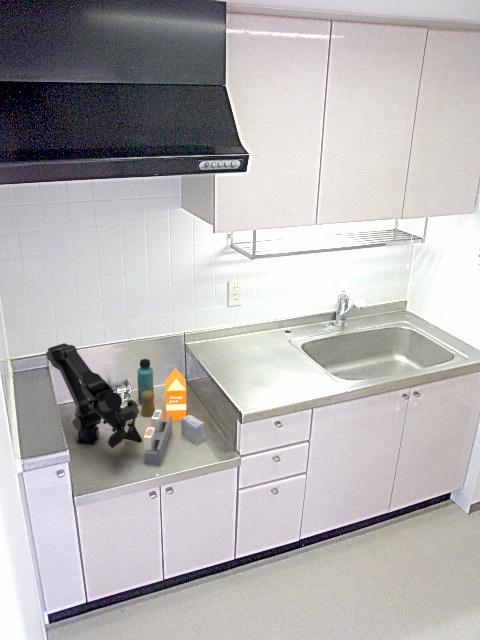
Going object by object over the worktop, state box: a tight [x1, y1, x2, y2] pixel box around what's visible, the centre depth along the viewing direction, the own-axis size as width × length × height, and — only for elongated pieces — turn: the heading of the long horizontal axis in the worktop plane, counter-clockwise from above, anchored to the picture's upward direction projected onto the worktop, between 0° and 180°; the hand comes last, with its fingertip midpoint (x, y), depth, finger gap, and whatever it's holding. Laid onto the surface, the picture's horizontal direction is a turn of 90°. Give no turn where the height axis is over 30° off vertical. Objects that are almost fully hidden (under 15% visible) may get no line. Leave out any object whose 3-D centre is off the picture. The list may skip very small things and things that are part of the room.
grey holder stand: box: [143, 416, 173, 466], centre depth 197 cm, size 7×20×8 cm, turn 175°
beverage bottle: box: [137, 358, 155, 404], centre depth 222 cm, size 6×7×20 cm
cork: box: [140, 390, 156, 418], centre depth 216 cm, size 6×6×11 cm
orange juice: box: [165, 367, 187, 422], centre depth 214 cm, size 8×9×20 cm
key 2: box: [150, 409, 163, 433], centre depth 201 cm, size 2×6×10 cm, turn 174°
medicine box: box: [180, 414, 205, 445], centre depth 203 cm, size 8×4×9 cm, turn 48°
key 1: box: [143, 426, 157, 460], centre depth 191 cm, size 2×6×10 cm, turn 174°
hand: (141, 441), depth 191 cm, fingers closed
